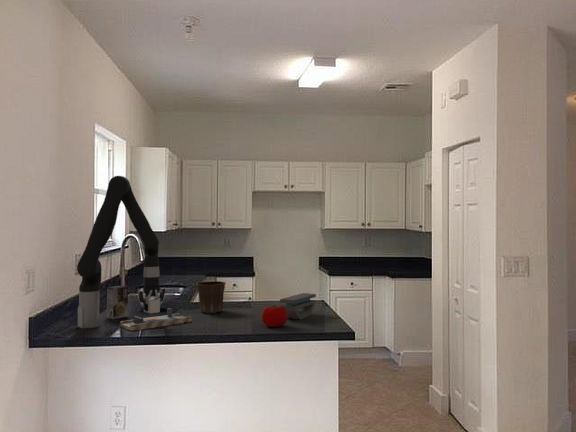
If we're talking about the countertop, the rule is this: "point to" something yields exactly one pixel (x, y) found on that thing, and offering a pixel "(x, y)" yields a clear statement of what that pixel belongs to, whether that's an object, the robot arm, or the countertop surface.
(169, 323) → the rail base
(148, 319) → the carriage
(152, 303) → the link block
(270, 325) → the tomato
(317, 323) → the countertop surface
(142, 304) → the chinaware
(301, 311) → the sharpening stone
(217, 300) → the plant pot
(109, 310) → the coffee box
